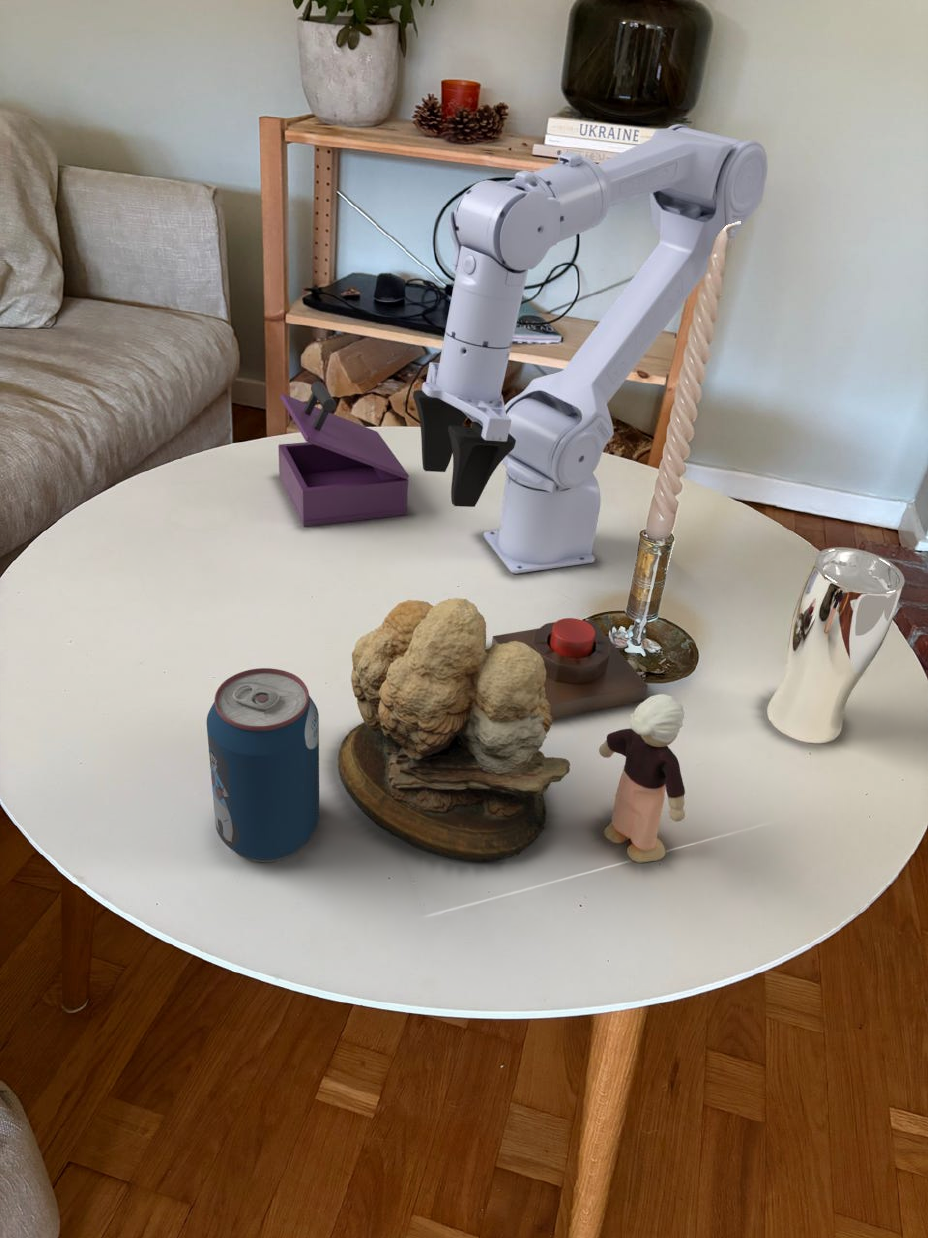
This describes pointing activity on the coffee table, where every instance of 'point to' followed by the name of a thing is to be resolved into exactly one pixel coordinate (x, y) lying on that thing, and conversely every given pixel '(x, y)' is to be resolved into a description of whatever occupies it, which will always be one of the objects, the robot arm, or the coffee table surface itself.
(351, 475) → the box
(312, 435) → the purple flat piece
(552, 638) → the button
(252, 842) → the soda can
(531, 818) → the tan rock sculpture
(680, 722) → the grandmother figurine
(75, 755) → the coffee table surface
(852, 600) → the beer glass
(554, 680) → the button block
